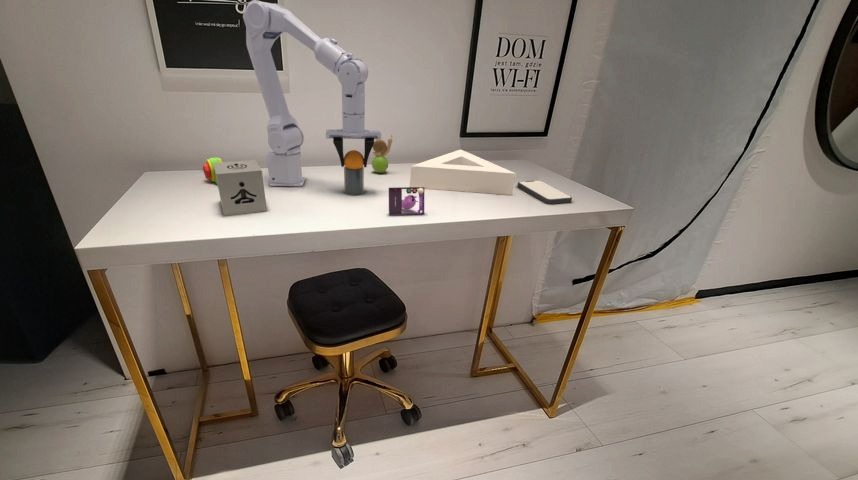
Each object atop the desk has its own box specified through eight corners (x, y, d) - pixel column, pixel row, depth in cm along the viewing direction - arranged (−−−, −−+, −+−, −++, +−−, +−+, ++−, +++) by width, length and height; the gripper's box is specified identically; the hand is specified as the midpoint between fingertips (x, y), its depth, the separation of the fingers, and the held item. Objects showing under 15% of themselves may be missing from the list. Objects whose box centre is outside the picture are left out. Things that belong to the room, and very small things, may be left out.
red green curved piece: (211, 188, 110) (206, 164, 106) (197, 170, 123) (192, 149, 120) (234, 184, 113) (230, 161, 109) (218, 168, 126) (214, 147, 123)
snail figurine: (390, 175, 127) (392, 136, 120) (371, 174, 127) (371, 135, 120) (391, 170, 131) (392, 133, 125) (372, 169, 131) (372, 132, 125)
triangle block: (511, 195, 114) (516, 173, 111) (433, 204, 105) (435, 181, 102) (458, 167, 138) (460, 149, 134) (390, 173, 129) (391, 153, 125)
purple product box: (389, 187, 95) (425, 187, 96) (386, 188, 100) (420, 187, 101) (389, 215, 96) (425, 214, 98) (386, 214, 101) (420, 213, 103)
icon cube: (220, 201, 101) (213, 162, 96) (260, 197, 105) (255, 159, 99) (224, 215, 93) (216, 174, 88) (267, 210, 97) (261, 170, 92)
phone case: (573, 203, 111) (539, 184, 124) (574, 197, 110) (540, 179, 123) (546, 205, 108) (514, 186, 121) (548, 200, 108) (516, 181, 120)
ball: (343, 174, 106) (343, 152, 103) (344, 168, 110) (343, 148, 107) (364, 174, 106) (364, 153, 103) (364, 168, 111) (363, 148, 108)
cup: (344, 195, 109) (343, 170, 105) (344, 188, 113) (344, 164, 110) (363, 195, 109) (363, 170, 106) (363, 189, 114) (363, 165, 110)
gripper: (324, 114, 96) (326, 169, 104) (382, 116, 98) (380, 170, 105) (325, 110, 102) (328, 162, 110) (380, 112, 104) (379, 163, 111)
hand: (353, 166), depth 108 cm, fingers closed on ball, 5 cm apart
